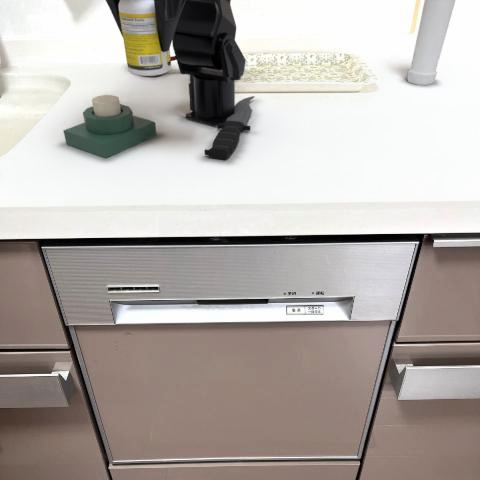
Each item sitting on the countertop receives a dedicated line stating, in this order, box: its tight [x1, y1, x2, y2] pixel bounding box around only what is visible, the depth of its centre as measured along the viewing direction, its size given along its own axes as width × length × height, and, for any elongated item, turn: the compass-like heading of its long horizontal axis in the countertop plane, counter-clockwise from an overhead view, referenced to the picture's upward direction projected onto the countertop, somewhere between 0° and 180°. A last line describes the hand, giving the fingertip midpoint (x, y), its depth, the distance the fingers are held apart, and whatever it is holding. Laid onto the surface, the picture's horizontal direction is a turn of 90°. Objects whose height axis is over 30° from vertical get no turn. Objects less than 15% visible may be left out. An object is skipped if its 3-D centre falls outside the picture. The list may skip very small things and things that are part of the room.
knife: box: [204, 96, 256, 162], centre depth 72 cm, size 25×2×5 cm
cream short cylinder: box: [91, 94, 121, 117], centre depth 65 cm, size 4×4×2 cm
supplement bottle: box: [118, 0, 172, 77], centre depth 56 cm, size 5×5×10 cm
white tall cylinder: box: [406, 0, 456, 86], centre depth 82 cm, size 5×5×25 cm
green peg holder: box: [63, 103, 158, 159], centre depth 67 cm, size 8×10×4 cm
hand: (147, 48), depth 57 cm, fingers closed on supplement bottle, 5 cm apart
